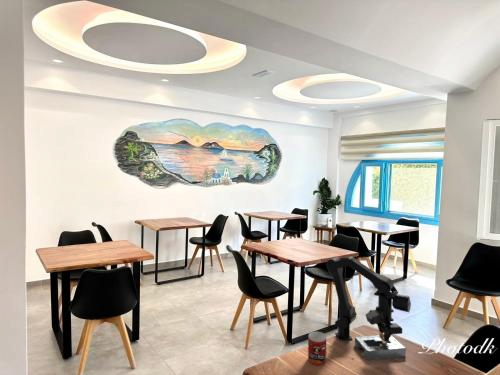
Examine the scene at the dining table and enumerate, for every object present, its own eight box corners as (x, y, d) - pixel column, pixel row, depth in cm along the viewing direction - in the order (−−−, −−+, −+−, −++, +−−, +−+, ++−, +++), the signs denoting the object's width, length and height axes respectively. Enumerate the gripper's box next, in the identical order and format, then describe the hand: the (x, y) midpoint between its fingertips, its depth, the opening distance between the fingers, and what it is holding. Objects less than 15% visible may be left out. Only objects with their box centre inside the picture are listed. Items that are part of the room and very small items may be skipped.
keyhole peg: (377, 348, 150) (377, 330, 150) (385, 347, 151) (385, 329, 150) (382, 352, 146) (382, 334, 146) (390, 352, 147) (390, 333, 146)
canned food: (307, 364, 138) (307, 339, 137) (308, 353, 146) (308, 330, 145) (325, 366, 136) (326, 341, 136) (326, 356, 144) (326, 332, 143)
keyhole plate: (354, 345, 153) (355, 336, 153) (390, 342, 156) (390, 334, 155) (367, 360, 141) (367, 350, 141) (405, 356, 144) (405, 347, 144)
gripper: (358, 299, 156) (358, 330, 156) (379, 316, 137) (378, 352, 138) (380, 297, 157) (379, 329, 158) (403, 314, 139) (402, 350, 140)
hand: (384, 339), depth 148 cm, fingers closed on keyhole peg, 3 cm apart
